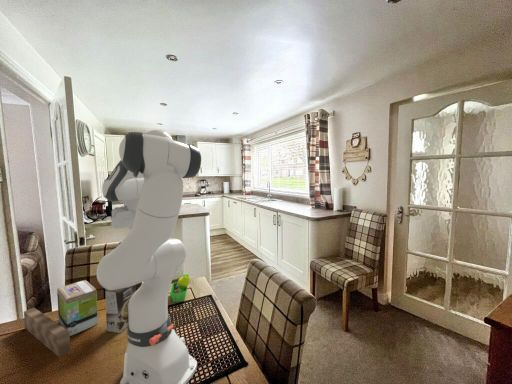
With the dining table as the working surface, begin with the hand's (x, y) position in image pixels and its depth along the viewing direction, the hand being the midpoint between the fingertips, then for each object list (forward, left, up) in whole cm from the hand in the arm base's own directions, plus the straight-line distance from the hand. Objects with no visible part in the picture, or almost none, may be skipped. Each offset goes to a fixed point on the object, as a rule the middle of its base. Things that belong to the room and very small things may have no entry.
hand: (136, 234), depth 102 cm
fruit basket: (-14, -13, -33) cm, 38 cm away
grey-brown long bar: (+8, +31, -33) cm, 46 cm away
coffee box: (-9, +13, -33) cm, 37 cm away
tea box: (+8, +21, -33) cm, 40 cm away
